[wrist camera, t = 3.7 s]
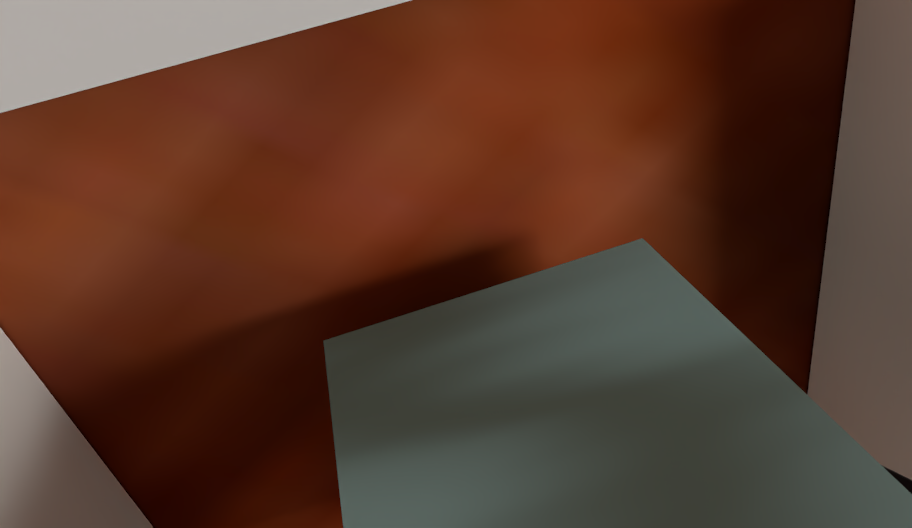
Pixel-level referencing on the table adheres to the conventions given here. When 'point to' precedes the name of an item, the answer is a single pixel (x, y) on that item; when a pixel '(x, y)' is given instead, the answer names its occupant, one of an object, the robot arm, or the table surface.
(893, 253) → the white u-shaped frame
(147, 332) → the table surface
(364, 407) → the teal block
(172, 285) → the table surface
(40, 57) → the grey mat
